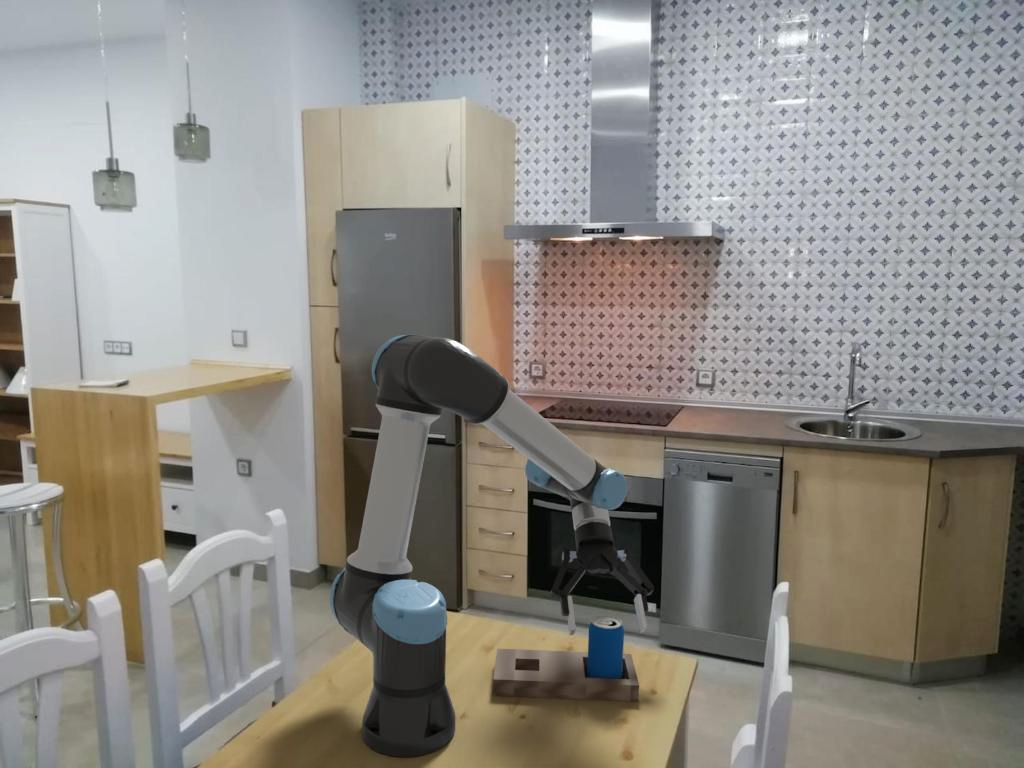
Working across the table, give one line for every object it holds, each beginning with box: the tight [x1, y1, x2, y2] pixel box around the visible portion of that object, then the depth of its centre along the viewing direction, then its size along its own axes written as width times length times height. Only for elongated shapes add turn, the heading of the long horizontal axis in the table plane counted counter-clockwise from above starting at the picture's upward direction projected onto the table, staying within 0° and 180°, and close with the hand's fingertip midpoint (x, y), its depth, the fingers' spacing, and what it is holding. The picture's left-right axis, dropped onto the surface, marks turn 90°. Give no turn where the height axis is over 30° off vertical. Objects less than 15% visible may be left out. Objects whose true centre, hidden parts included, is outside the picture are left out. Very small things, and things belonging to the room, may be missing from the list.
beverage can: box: [586, 614, 625, 679], centre depth 138 cm, size 6×6×12 cm
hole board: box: [492, 648, 640, 702], centre depth 139 cm, size 26×12×3 cm, turn 88°
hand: (608, 631), depth 139 cm, fingers open, 13 cm apart
